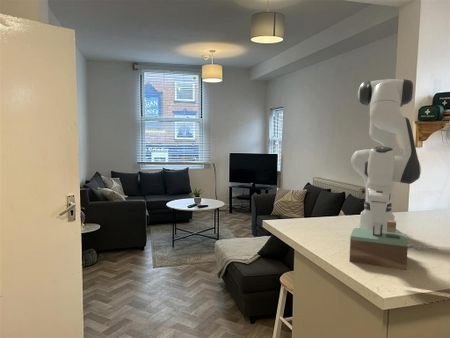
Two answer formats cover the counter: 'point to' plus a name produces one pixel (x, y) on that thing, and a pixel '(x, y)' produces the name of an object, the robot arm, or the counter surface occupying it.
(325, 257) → the counter surface
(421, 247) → the pliers
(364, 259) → the toolbox
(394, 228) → the wooden block
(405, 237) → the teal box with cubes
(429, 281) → the counter surface
